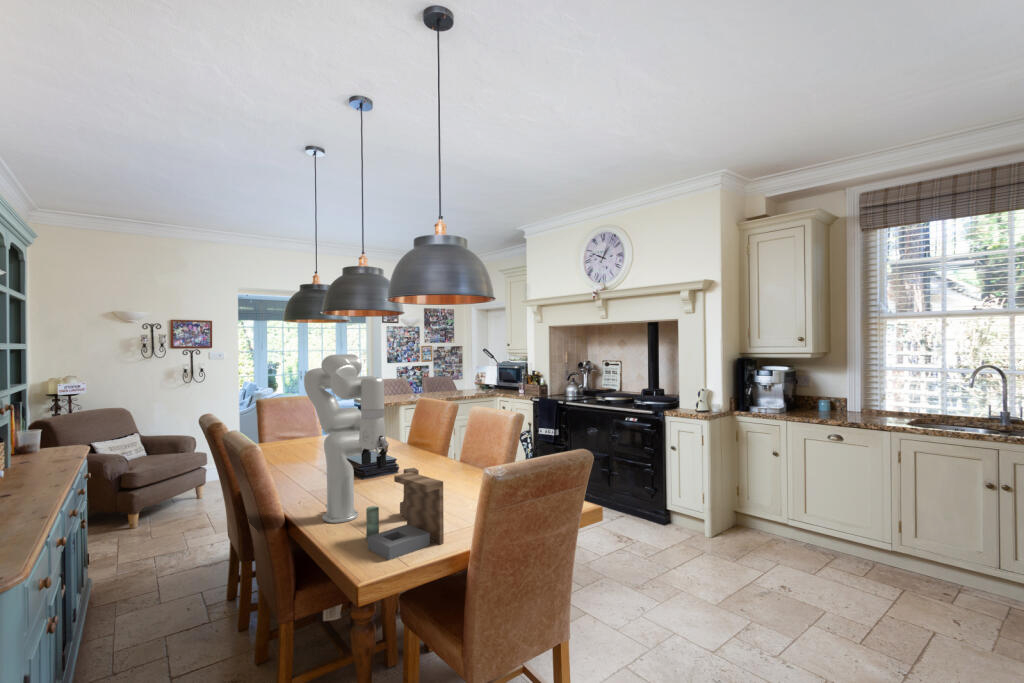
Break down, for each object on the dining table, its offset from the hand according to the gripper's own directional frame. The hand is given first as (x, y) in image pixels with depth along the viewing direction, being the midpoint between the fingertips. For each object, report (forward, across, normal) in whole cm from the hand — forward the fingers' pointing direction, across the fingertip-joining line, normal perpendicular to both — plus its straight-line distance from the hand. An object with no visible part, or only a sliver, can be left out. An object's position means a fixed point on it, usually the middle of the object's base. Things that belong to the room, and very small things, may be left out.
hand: (373, 466), depth 169 cm
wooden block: (+24, -11, +20) cm, 33 cm away
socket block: (+24, +12, +2) cm, 27 cm away
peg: (+24, -1, 0) cm, 24 cm away
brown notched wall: (+24, +11, +10) cm, 28 cm away
